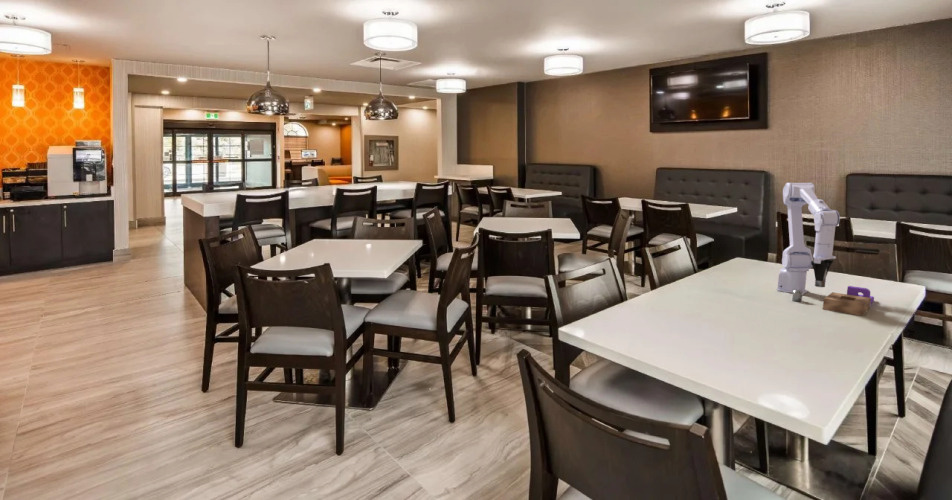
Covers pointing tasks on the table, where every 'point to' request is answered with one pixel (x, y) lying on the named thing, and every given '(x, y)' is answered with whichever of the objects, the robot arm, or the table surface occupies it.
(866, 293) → the bracket
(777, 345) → the table surface
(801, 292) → the short pin
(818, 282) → the tall pin
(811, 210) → the robot arm
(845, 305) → the hole block
